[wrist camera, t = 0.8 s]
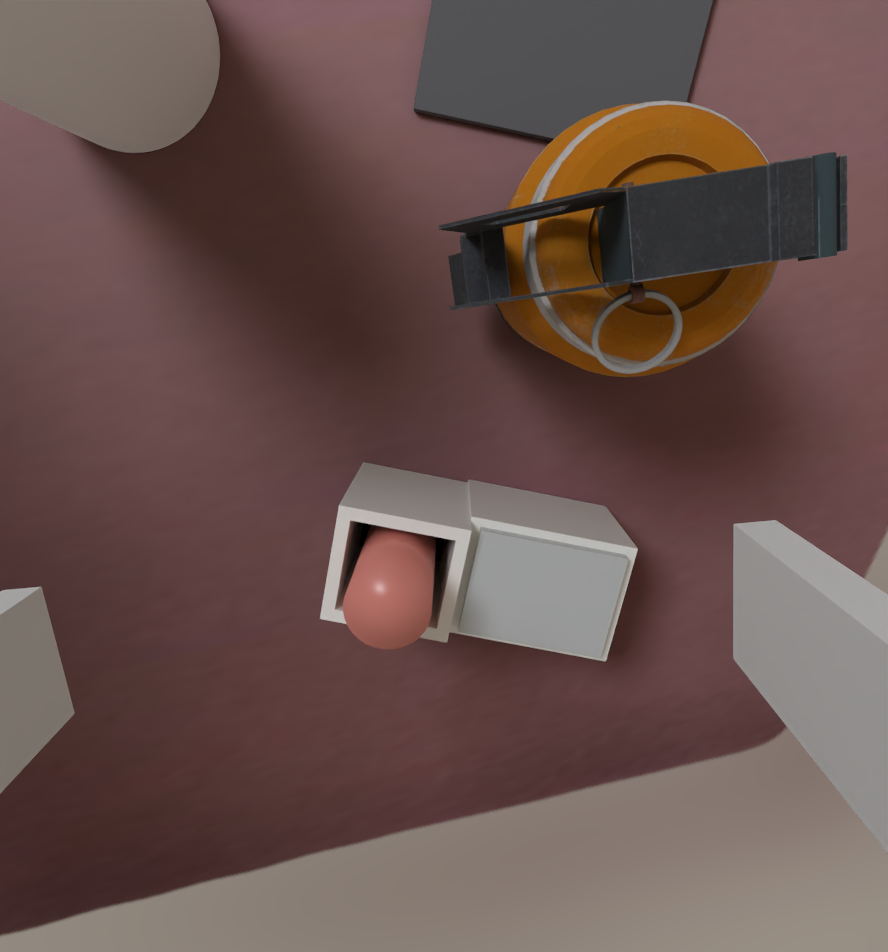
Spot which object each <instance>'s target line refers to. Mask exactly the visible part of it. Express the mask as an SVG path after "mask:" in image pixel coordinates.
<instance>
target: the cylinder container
mask: <svg viewBox="0 0 888 952" xmlns="http://www.w3.org/2000/svg"><path fill="white" fill-rule="evenodd" d="M219 68H220V46H219V37H218V32H217V28H216V24H215V21H214V17H213V14H212V12H211V9H210V7H209V5H208V3H207V1H206V0H0V101H2V102H4V103H6V104H8V105H11V106H13V107H15V108H17V109H20V110H22V111H24V112H26V113H28V114H31V115H33V116H35V117H37V118H39V119H42V120H44V121H46V122H48V123H51V124H53V125H55V126H57V127H59V128H62V129H64V130H66V131H68V132H71V133H73V134H75V135H77V136H79V137H82V138H84V139H86V140H88V141H91V142H93V143H95V144H97V145H100V146H102V147H105V148H107V149H111V150H115V151H120V152H126V153H143V152H150V151H154V150H158V149H162V148H164V147H167V146H169V145H171V144H173V143H175V142H176V141H178V140H180V139H181V138H182V137H184V136H185V135H186V134H187V133H189V132H190V131H191V130H192V129H193V128H194V127H195V126H196V125H197V123H198V122H199V121H200V119H201V118H202V117H203V115H204V114H205V112H206V111H207V109H208V107H209V105H210V103H211V100H212V98H213V96H214V93H215V89H216V86H217V82H218V77H219Z"/></svg>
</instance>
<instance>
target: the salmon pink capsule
mask: <svg viewBox="0 0 888 952" xmlns="http://www.w3.org/2000/svg"><path fill="white" fill-rule="evenodd" d="M435 555H436V537H434V536H429V535H423V534H418V533H413V532H408V531H403V530H398V529H392V528H387V527H382V526H377V525H371V527H370V529H369V531H368V534H367V537H366V539H365V542H364V545H363V547H362V550H361V553H360V556H359V558H358V561H357V564H356V566H355V569H354V572H353V575H352V577H351V580H350V583H349V585H348V588H347V591H346V594H345V597H344V601H343V614H344V618H345V621H346V624H347V626H348V627H349V629H350V630H351V632H352V633H353V634H354V635H355V636H356V637H357V638H358V639H359V640H361V641H362V642H363V643H365V644H367V645H369V646H372V647H375V648H379V649H398V648H402V647H405V646H407V645H409V644H411V643H413V642H414V641H416V640H417V639H418V638H419V637H420V636H421V635H422V634H423V633H424V632H425V630H426V629H427V627H428V625H429V622H430V619H431V614H432V600H433V585H434V570H435Z"/></svg>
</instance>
